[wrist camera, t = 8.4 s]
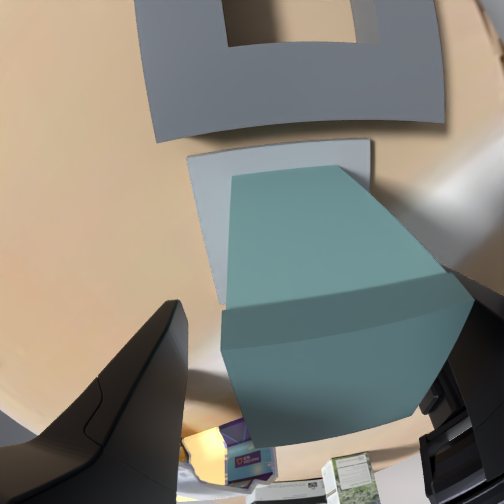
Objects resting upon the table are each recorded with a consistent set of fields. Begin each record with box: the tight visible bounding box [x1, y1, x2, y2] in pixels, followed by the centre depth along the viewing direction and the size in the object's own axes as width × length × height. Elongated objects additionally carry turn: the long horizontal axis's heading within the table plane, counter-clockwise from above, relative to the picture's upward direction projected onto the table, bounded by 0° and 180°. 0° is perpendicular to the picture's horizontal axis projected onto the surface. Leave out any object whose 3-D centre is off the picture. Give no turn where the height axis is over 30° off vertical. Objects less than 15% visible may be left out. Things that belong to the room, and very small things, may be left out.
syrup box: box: [321, 452, 381, 504], centre depth 26 cm, size 6×6×14 cm
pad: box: [186, 138, 370, 304], centre depth 12 cm, size 7×7×1 cm
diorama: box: [176, 417, 278, 501], centre depth 18 cm, size 25×10×13 cm, turn 132°
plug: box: [221, 165, 475, 449], centre depth 8 cm, size 4×4×8 cm
